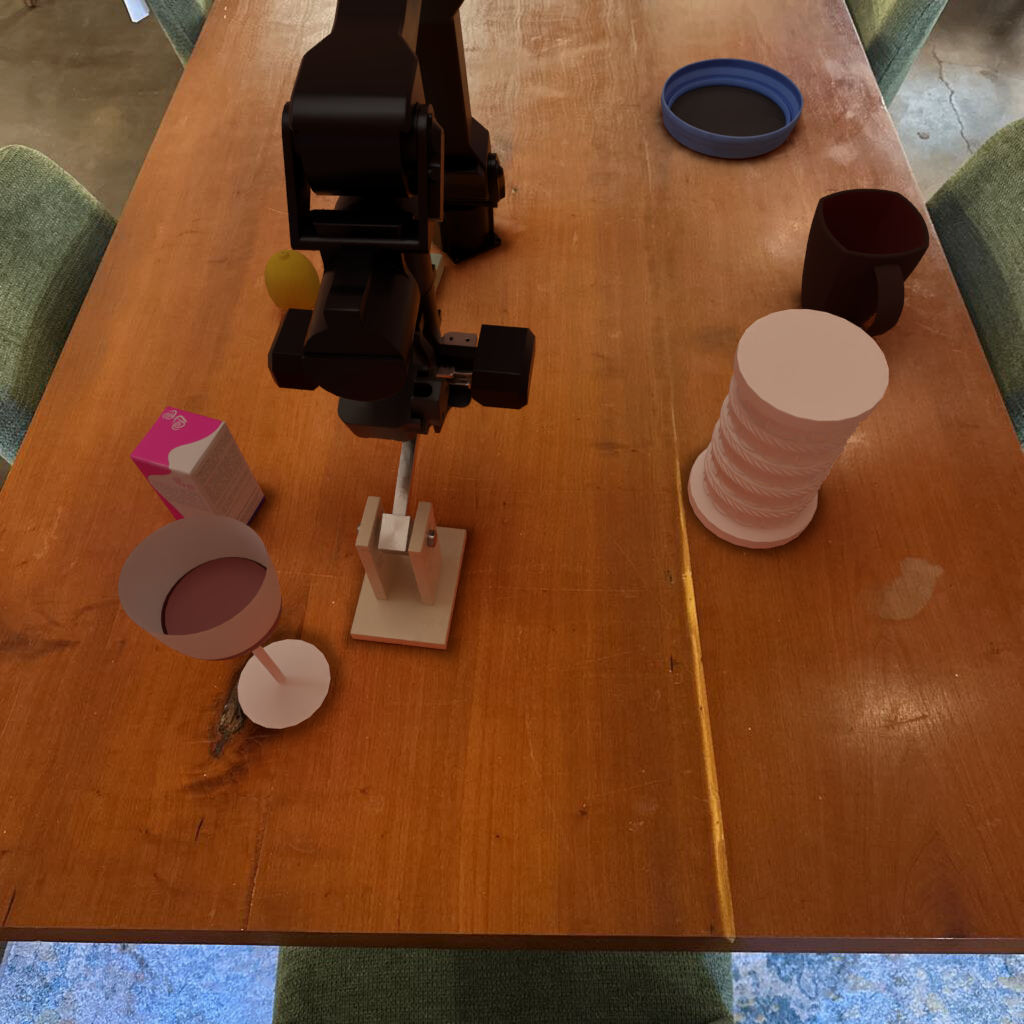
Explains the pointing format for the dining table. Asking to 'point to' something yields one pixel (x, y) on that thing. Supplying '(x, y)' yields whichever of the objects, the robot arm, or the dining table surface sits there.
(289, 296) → the lemon
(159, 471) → the supplement box
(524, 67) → the dining table surface
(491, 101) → the dining table surface
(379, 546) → the lever
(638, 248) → the dining table surface
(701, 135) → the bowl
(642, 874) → the dining table surface
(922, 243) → the cup
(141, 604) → the wineglass
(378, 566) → the bracket
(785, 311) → the decorative container
